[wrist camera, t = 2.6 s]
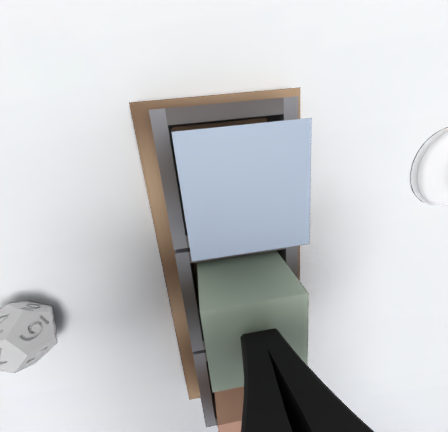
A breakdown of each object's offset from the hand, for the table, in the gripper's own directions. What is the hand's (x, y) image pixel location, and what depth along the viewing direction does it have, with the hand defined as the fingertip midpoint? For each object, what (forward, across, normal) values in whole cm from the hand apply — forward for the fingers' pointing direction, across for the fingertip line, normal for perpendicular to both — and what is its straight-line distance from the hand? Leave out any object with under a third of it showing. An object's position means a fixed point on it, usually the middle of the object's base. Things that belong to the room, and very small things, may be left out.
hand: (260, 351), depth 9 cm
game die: (+7, +12, +2) cm, 14 cm away
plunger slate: (+4, 0, -6) cm, 7 cm away
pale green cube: (+4, 0, 0) cm, 4 cm away
